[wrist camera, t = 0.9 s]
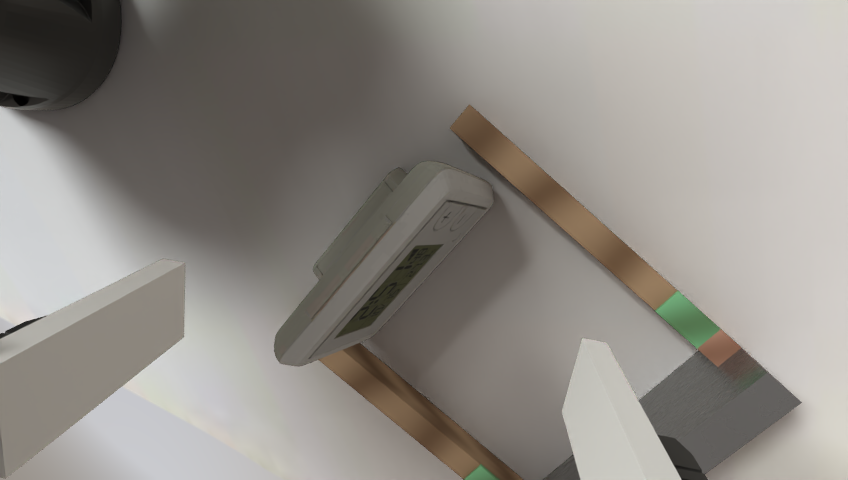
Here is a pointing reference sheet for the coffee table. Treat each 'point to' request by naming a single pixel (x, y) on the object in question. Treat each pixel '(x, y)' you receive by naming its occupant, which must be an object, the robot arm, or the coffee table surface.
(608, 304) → the coffee table surface
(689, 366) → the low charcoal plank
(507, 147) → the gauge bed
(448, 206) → the digital clock
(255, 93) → the coffee table surface
